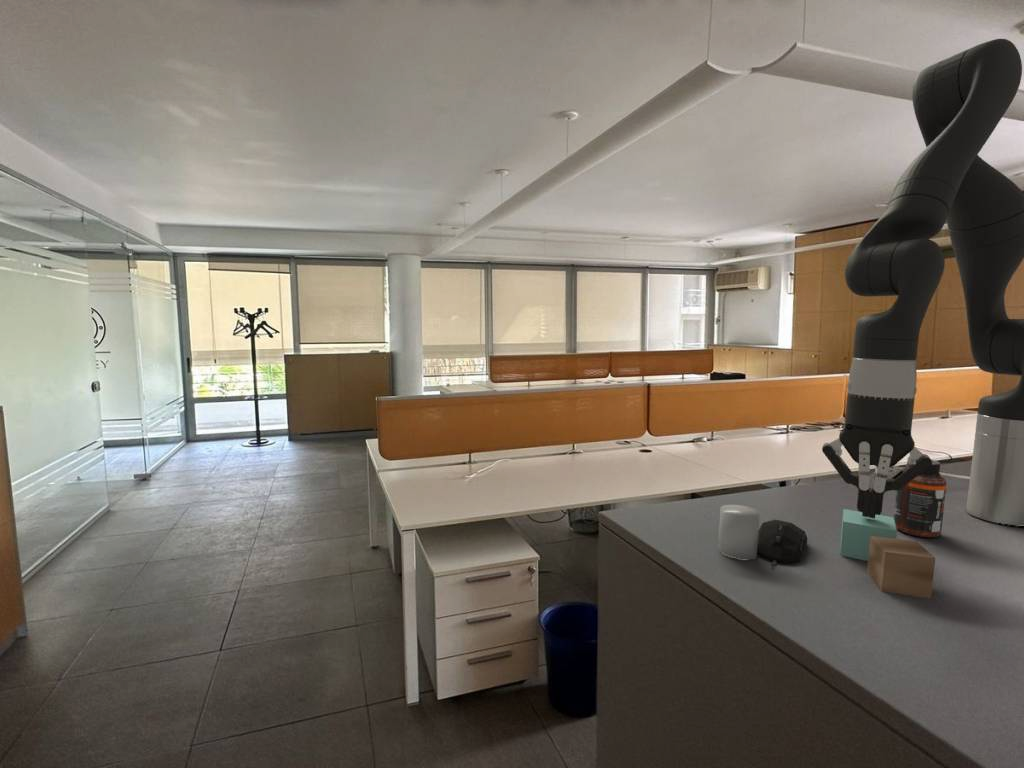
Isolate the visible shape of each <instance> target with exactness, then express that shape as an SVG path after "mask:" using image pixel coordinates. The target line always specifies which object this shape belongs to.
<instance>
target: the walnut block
mask: <svg viewBox="0 0 1024 768" xmlns="http://www.w3.org/2000/svg"><path fill="white" fill-rule="evenodd" d="M935 565H936V557H935V556H934V555H933V554H932V553H931V552H929V551H928V550H927V549H926V548H925V546H924V547H923V545H921V544H920V542H918V541H917V540H906V539H900V538H899V539H898V538H896V539H892V538H883V537H874V536H870V546H869V557H868V561H867V570H866V573H867V575H868V577H870V578H871V579H872V582H873V583H875V585H876V586H877V588H878V589H879V591H881V592H884V593H890V594H891V593H892V594H899V595H906V596H913V597H918V598H919V597H920V598H926V599H932V591H933V584H934V583H933V582H934V575H935V574H934V573H935Z"/></svg>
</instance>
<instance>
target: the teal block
mask: <svg viewBox="0 0 1024 768" xmlns="http://www.w3.org/2000/svg"><path fill="white" fill-rule="evenodd" d="M840 533H841V534H840V540H839V541H840V548H839V549H840V550H839V553H840V554H839V555H840V556H841V557H845V558H846V557H847V558H851V559H856V560H860V561H866V562H868V557H869V546H870V536H874V537H883V538H892V539H897V536H898V529H897V528H896V525H895V521H894V516H887V515H881V514H880V515H876V514H875V519H874V518H869V516H868V517H863V516H862V512H859V511H858V510H851V509H845V508H843V509H842V521H841V530H840Z"/></svg>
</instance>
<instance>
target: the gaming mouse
mask: <svg viewBox="0 0 1024 768" xmlns="http://www.w3.org/2000/svg"><path fill="white" fill-rule="evenodd" d="M807 547H808V536H807V533H806V531H805V530H803V529H802V528H800V527H799V526H797V525H795V524H794V523H792V522H788V521H784V520H779V519H773V520H768V521H764V522H762V523H761V525H760V526H759V534H758V549H757V557H759V558H760V559H763V560H766V561H768V562H771V564H770V566H771V568H770V570H771V571H774V569H775V567H777V565H778V564H782V565H795V564H799V563H801V561H802V558H803V557H804V554H805V553H806V552H805V551H806V549H807Z"/></svg>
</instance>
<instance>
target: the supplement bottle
mask: <svg viewBox="0 0 1024 768" xmlns="http://www.w3.org/2000/svg"><path fill="white" fill-rule="evenodd" d="M931 460H932V465H931V466H929V467H928V468H927V469H926V470H924V471H923V472H922V473H920V474H919V475H918V476H917V477H915V478H914V479H913V480H911V481H910V482H909V483H908V484H906V485H905V486H904V487H902V488H901V489H900V490H898V491H896V492H895V493H896V495H895V501H894V502H895V505H894V514H893V518H894V521H895V525H896V529H897V531H899V532H901V533H905V534H906V535H911V536H914V537H920V538H929V539H931V538H938V537H939V536H941V533H942V530H943V519H944V509H945V501H946V492H947V481H946V478H945V477H943V476H941V473H940V471H941V463H940V462H939V461H936V460H933V459H931ZM906 461H907V460H906ZM908 464H909V463H908V461H907V462H906V466H907V465H908ZM906 466H905V467H906Z"/></svg>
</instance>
